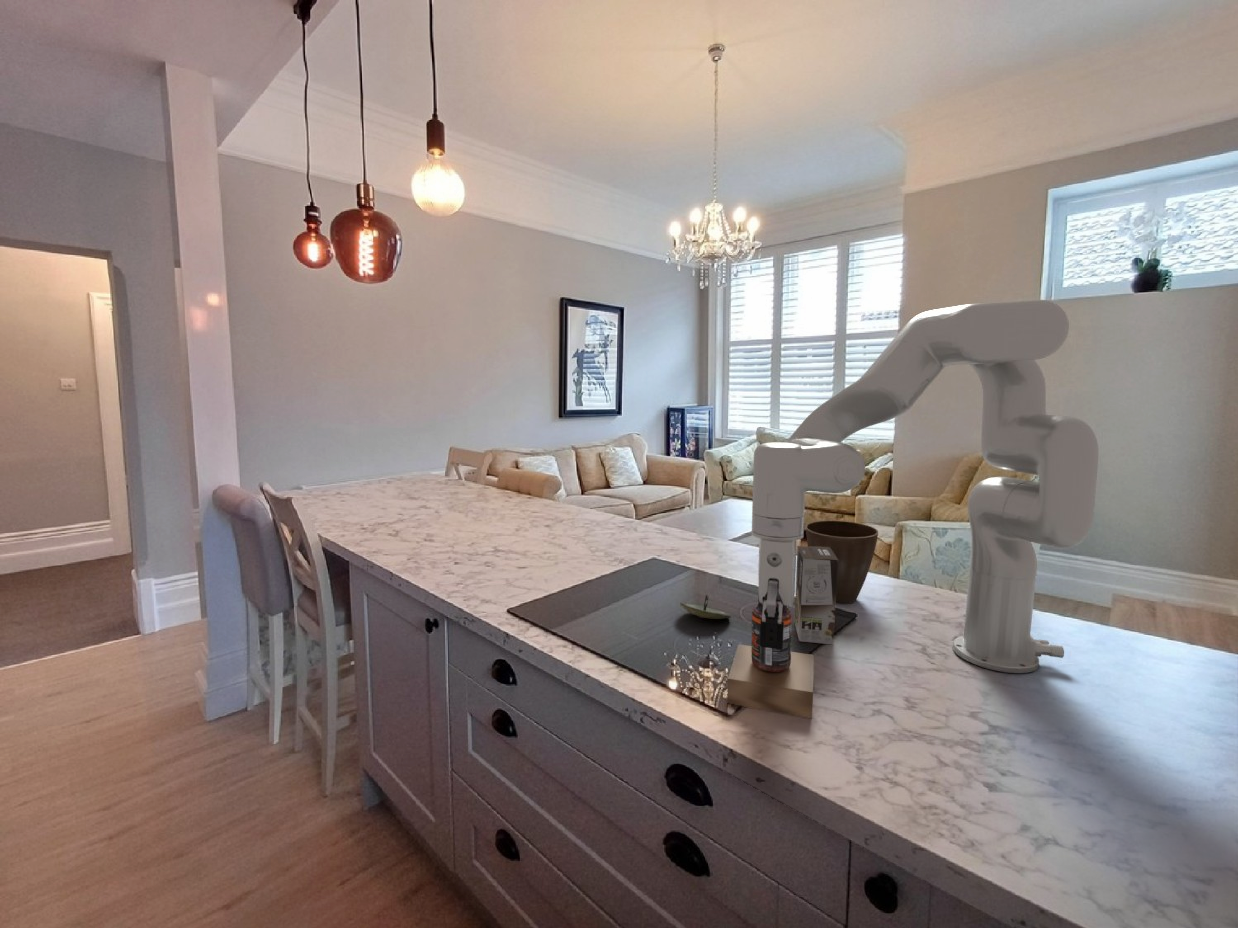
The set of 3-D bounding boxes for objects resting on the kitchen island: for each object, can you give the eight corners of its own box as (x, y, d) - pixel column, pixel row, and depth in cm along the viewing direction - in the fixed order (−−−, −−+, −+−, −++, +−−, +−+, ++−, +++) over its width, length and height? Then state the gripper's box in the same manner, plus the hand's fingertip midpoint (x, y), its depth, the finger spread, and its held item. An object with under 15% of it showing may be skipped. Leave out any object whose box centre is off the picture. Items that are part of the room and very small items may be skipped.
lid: (669, 620, 116) (670, 597, 115) (695, 606, 124) (695, 583, 123) (715, 634, 109) (716, 609, 109) (739, 618, 117) (740, 594, 116)
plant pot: (853, 616, 117) (857, 541, 115) (789, 597, 128) (792, 527, 126) (886, 599, 127) (890, 529, 125) (824, 582, 138) (827, 517, 136)
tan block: (812, 678, 93) (813, 654, 92) (811, 718, 82) (812, 692, 81) (737, 666, 97) (738, 644, 96) (727, 703, 85) (727, 678, 85)
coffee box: (835, 645, 105) (839, 560, 102) (798, 642, 106) (801, 557, 104) (827, 624, 113) (831, 546, 111) (793, 622, 115) (796, 544, 113)
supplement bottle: (746, 657, 92) (746, 588, 90) (782, 655, 92) (783, 587, 91) (758, 674, 86) (759, 601, 84) (797, 672, 86) (798, 599, 85)
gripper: (802, 542, 76) (797, 663, 79) (805, 514, 92) (800, 615, 95) (745, 537, 79) (741, 655, 81) (757, 511, 95) (754, 610, 97)
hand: (773, 633), depth 88 cm, fingers open, 9 cm apart
